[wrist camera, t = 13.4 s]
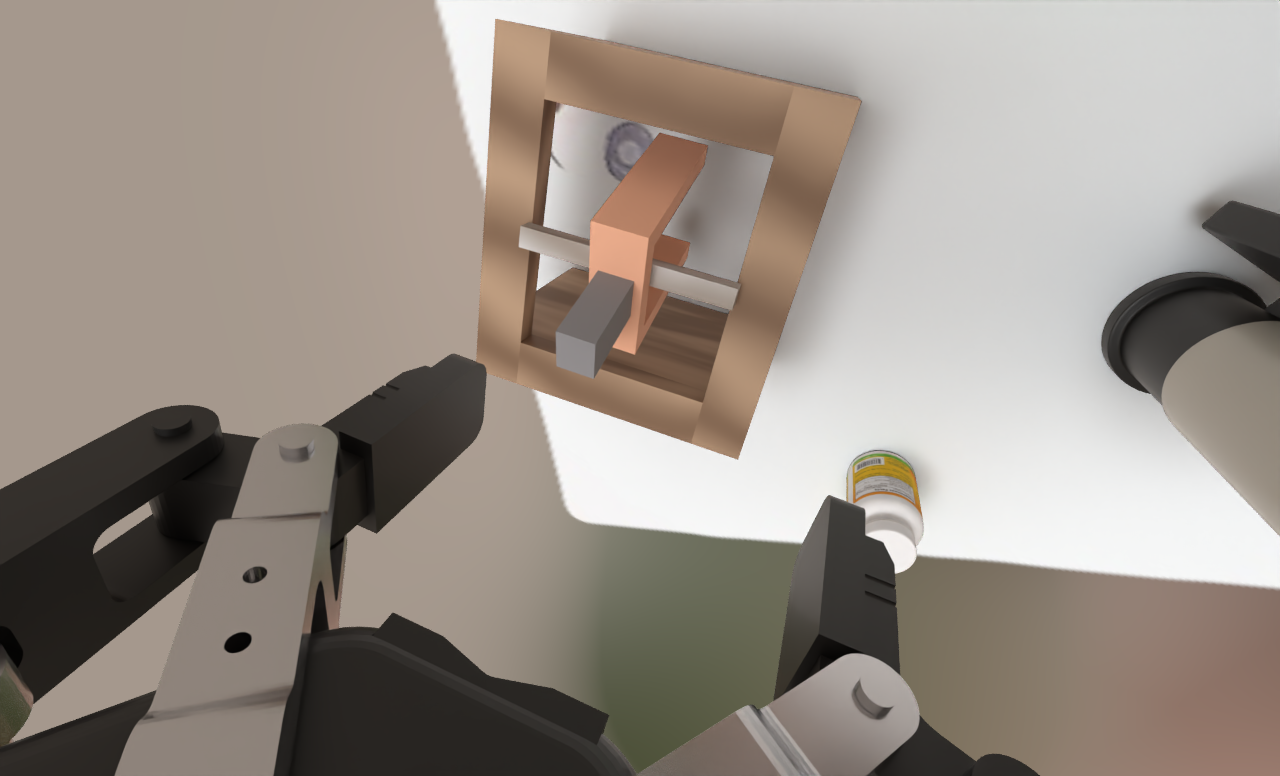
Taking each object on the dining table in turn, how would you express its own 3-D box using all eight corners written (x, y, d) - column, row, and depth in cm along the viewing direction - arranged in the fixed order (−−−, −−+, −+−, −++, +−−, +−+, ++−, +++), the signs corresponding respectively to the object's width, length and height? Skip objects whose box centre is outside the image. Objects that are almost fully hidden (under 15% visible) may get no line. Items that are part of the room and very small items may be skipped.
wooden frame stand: (603, 40, 42) (484, 16, 28) (857, 96, 38) (862, 101, 25) (568, 299, 52) (467, 375, 38) (767, 361, 48) (735, 468, 35)
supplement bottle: (894, 511, 51) (903, 593, 43) (835, 485, 52) (832, 561, 43) (928, 465, 48) (944, 543, 40) (865, 438, 49) (868, 510, 41)
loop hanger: (659, 132, 35) (543, 280, 25) (707, 145, 34) (608, 301, 25) (646, 245, 41) (548, 398, 31) (687, 257, 40) (601, 417, 31)
